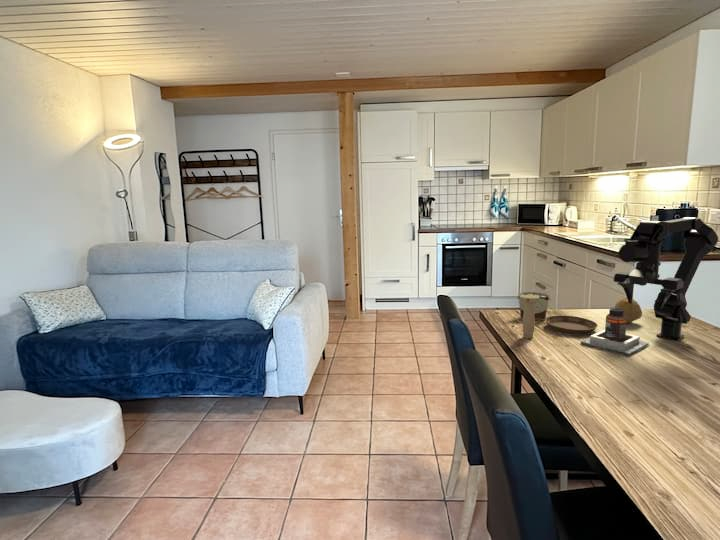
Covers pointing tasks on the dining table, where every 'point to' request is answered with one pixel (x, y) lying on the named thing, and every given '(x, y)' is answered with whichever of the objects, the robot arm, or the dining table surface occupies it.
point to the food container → (536, 305)
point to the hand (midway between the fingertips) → (645, 305)
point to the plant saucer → (571, 325)
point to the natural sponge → (629, 309)
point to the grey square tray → (615, 344)
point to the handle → (528, 314)
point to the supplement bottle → (615, 325)
